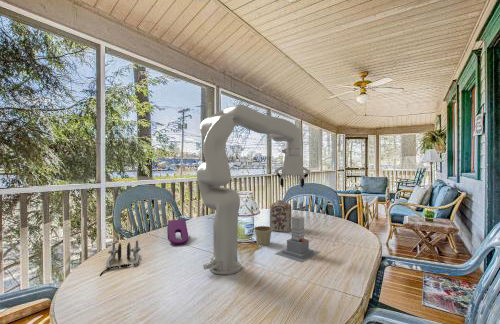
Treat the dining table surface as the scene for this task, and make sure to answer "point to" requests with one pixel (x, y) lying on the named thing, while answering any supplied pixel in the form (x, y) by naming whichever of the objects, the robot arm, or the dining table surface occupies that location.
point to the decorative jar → (280, 216)
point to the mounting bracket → (176, 227)
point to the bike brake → (113, 254)
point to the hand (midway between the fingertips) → (292, 186)
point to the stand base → (298, 250)
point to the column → (297, 228)
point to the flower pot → (263, 235)
